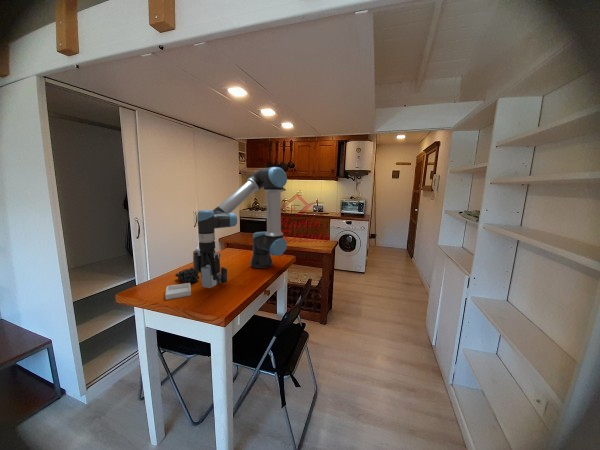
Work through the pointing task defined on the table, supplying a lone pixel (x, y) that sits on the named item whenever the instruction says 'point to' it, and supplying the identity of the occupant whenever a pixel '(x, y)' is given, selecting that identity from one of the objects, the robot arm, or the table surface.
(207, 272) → the block
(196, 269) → the jar
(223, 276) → the crank
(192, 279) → the fruit
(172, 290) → the tray
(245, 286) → the table surface
